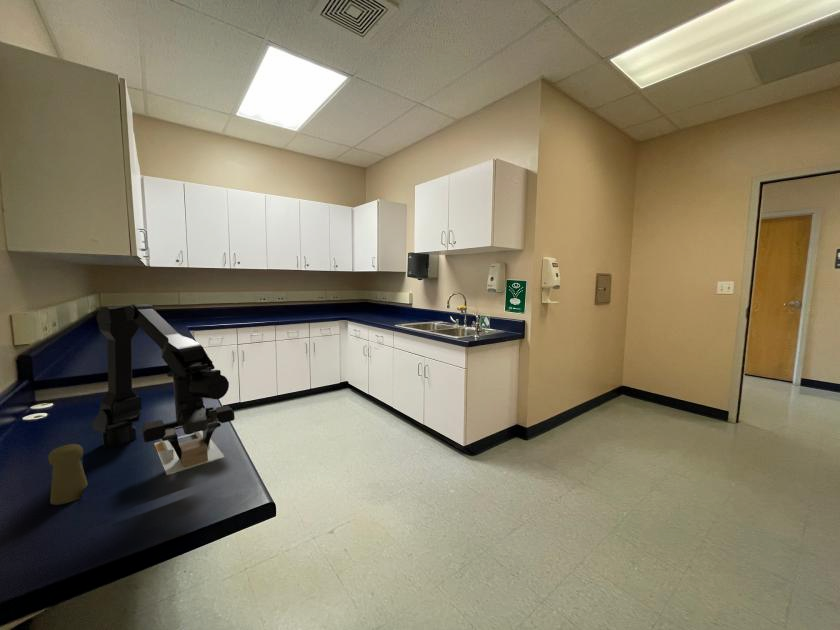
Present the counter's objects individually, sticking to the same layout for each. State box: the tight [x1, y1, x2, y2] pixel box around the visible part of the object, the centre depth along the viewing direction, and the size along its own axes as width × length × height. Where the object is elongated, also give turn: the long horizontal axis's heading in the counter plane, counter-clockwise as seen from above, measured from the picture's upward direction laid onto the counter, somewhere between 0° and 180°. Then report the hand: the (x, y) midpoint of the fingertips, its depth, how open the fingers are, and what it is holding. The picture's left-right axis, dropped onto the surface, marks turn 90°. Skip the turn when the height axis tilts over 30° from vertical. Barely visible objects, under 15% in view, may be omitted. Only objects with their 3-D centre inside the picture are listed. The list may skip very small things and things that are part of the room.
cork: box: [47, 443, 89, 506], centre depth 74 cm, size 6×6×11 cm
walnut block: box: [179, 437, 208, 468], centre depth 86 cm, size 6×5×4 cm
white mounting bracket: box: [153, 431, 225, 476], centre depth 92 cm, size 22×12×4 cm, turn 44°
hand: (192, 454), depth 87 cm, fingers closed on walnut block, 5 cm apart
